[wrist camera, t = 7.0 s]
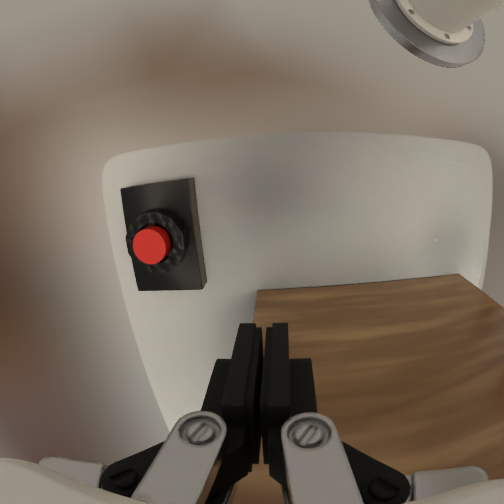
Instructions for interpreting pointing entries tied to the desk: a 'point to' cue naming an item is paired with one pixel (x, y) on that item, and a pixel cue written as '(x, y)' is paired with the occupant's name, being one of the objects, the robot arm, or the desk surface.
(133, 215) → the button block
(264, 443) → the robot arm
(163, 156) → the desk surface
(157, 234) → the button
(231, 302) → the desk surface
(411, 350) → the cupboard door
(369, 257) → the desk surface
